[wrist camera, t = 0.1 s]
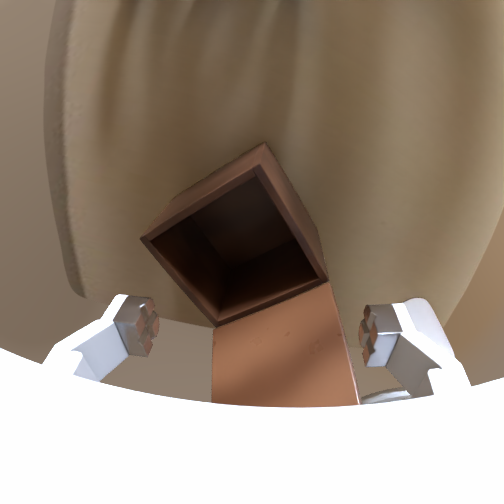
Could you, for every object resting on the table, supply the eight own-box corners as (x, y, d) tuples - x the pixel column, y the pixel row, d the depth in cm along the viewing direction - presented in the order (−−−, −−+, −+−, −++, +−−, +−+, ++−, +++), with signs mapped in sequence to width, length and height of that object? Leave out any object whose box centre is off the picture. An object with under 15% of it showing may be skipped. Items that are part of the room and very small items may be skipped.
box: (173, 197, 32) (139, 238, 24) (265, 141, 28) (259, 163, 20) (229, 272, 37) (216, 328, 28) (317, 229, 33) (329, 280, 24)
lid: (211, 455, 19) (217, 456, 19) (364, 427, 15) (367, 428, 15) (212, 329, 28) (217, 333, 28) (328, 281, 24) (332, 286, 24)
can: (381, 322, 39) (402, 389, 29) (409, 290, 36) (440, 356, 26) (410, 333, 40) (433, 394, 30) (436, 303, 37) (467, 364, 26)
